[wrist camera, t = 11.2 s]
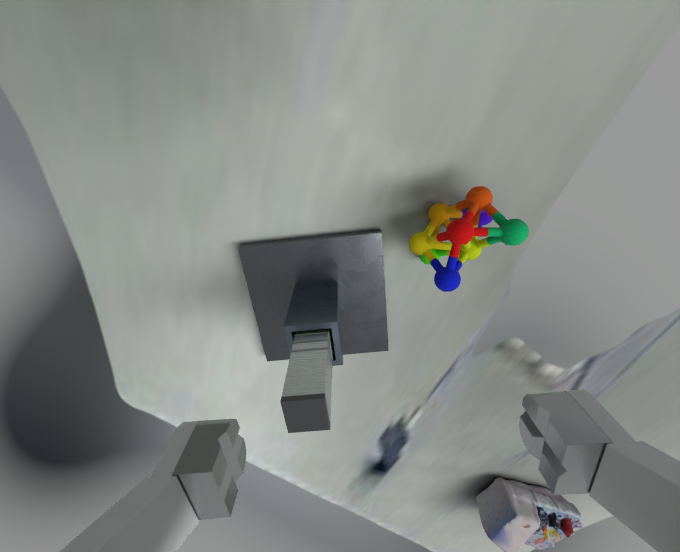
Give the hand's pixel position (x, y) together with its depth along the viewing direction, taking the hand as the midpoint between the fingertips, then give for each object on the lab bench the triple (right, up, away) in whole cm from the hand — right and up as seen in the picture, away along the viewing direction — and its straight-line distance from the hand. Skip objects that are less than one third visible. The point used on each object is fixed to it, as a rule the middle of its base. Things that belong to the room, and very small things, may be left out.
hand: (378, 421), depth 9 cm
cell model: (+38, -44, +62) cm, 85 cm away
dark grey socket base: (-4, +1, +41) cm, 41 cm away
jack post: (-4, -2, +35) cm, 36 cm away
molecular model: (+14, +12, +36) cm, 40 cm away
